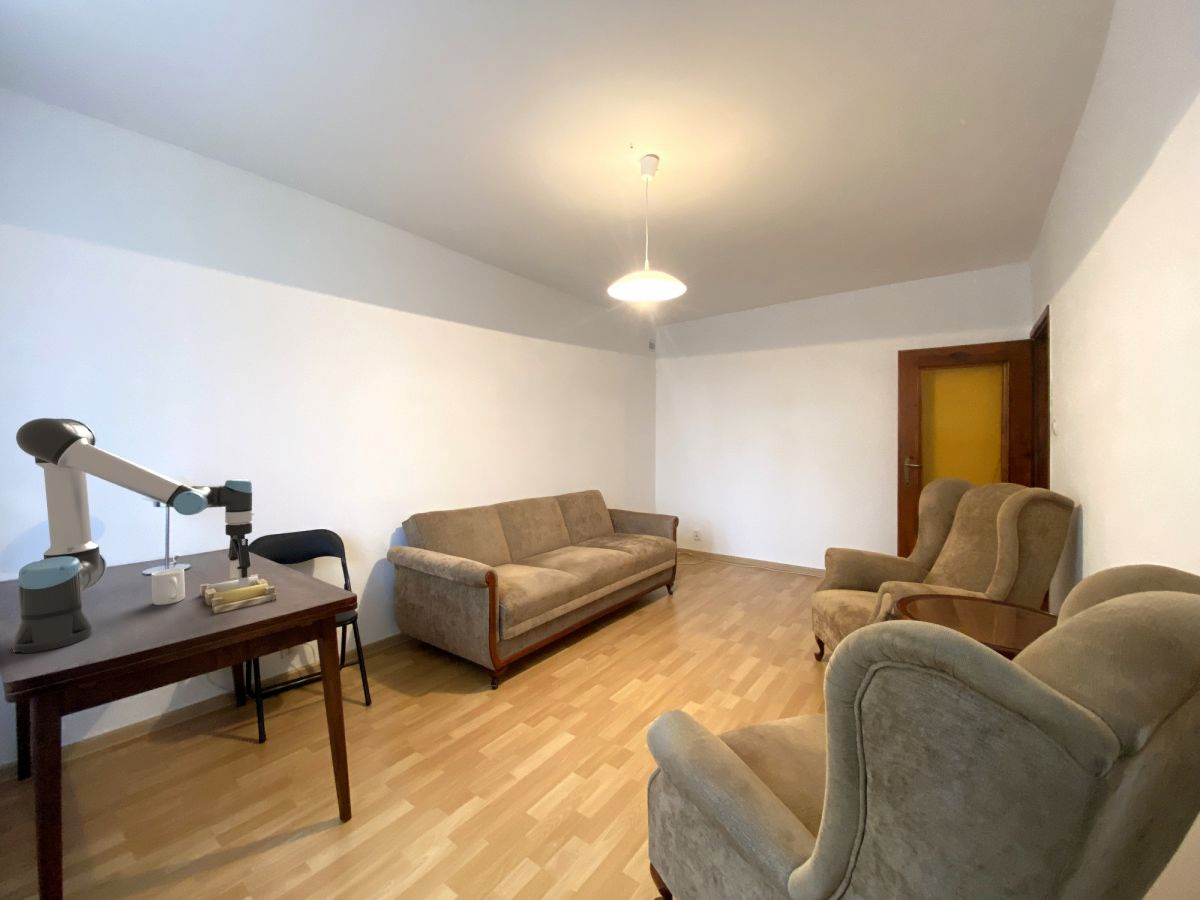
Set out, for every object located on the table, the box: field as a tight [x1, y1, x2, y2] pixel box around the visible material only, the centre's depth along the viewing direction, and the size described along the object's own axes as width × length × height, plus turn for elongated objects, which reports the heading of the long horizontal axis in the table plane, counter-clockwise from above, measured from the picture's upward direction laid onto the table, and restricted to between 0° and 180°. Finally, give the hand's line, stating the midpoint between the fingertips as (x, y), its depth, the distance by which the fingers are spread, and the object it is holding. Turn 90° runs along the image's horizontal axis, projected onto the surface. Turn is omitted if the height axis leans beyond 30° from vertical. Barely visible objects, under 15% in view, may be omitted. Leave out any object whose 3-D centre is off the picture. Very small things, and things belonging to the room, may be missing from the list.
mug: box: [150, 567, 186, 606], centre depth 168 cm, size 9×12×11 cm
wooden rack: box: [199, 573, 278, 615], centre depth 173 cm, size 18×27×4 cm, turn 48°
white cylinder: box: [206, 576, 260, 593], centre depth 177 cm, size 15×5×5 cm, turn 138°
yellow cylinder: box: [214, 583, 270, 605], centre depth 169 cm, size 15×5×5 cm, turn 138°
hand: (239, 582), depth 169 cm, fingers open, 13 cm apart
